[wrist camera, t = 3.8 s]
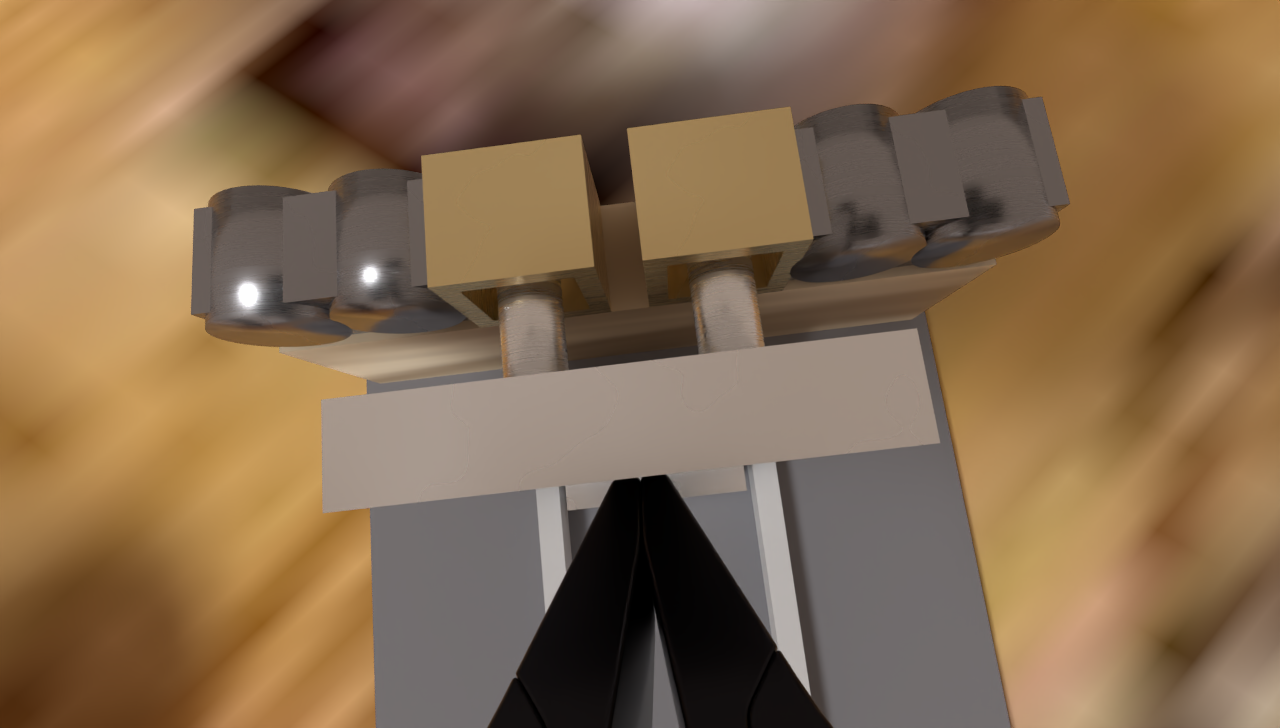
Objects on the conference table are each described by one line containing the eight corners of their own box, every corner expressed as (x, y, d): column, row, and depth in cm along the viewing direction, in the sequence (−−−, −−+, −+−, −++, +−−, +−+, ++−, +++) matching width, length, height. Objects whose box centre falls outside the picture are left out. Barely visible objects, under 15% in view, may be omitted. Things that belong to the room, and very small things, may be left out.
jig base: (1012, 786, 15) (1050, 822, 14) (390, 844, 16) (359, 885, 14) (898, 229, 18) (920, 205, 16) (374, 295, 18) (345, 278, 17)
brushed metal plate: (778, 484, 16) (952, 504, 6) (539, 511, 16) (324, 572, 6) (744, 263, 17) (843, -32, 7) (522, 291, 17) (317, 43, 7)
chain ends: (1006, 262, 12) (1101, 202, 10) (270, 353, 13) (160, 321, 10) (981, 156, 13) (1065, 69, 10) (271, 248, 13) (165, 190, 11)
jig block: (911, 319, 17) (997, 264, 12) (380, 383, 17) (279, 352, 13) (895, 239, 17) (972, 157, 13) (377, 303, 18) (279, 247, 13)
